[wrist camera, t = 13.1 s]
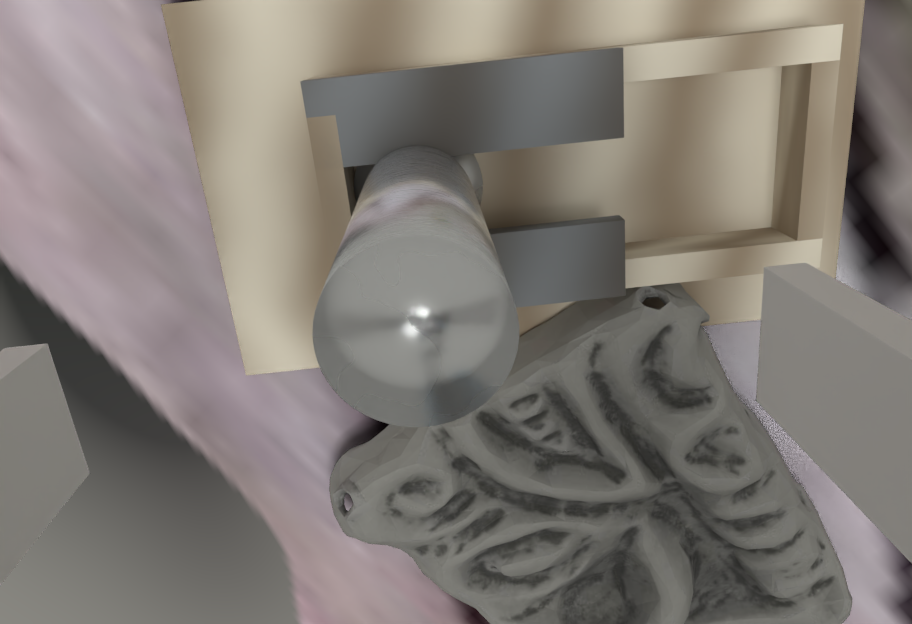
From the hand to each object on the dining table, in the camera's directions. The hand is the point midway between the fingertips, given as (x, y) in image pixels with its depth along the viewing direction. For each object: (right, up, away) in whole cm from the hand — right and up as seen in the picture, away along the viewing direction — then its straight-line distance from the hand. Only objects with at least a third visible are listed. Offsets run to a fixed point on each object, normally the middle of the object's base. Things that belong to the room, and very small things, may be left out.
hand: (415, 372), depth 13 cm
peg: (-1, +6, +15) cm, 16 cm away
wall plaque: (+8, -10, +23) cm, 26 cm away
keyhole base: (+4, +7, +16) cm, 18 cm away
